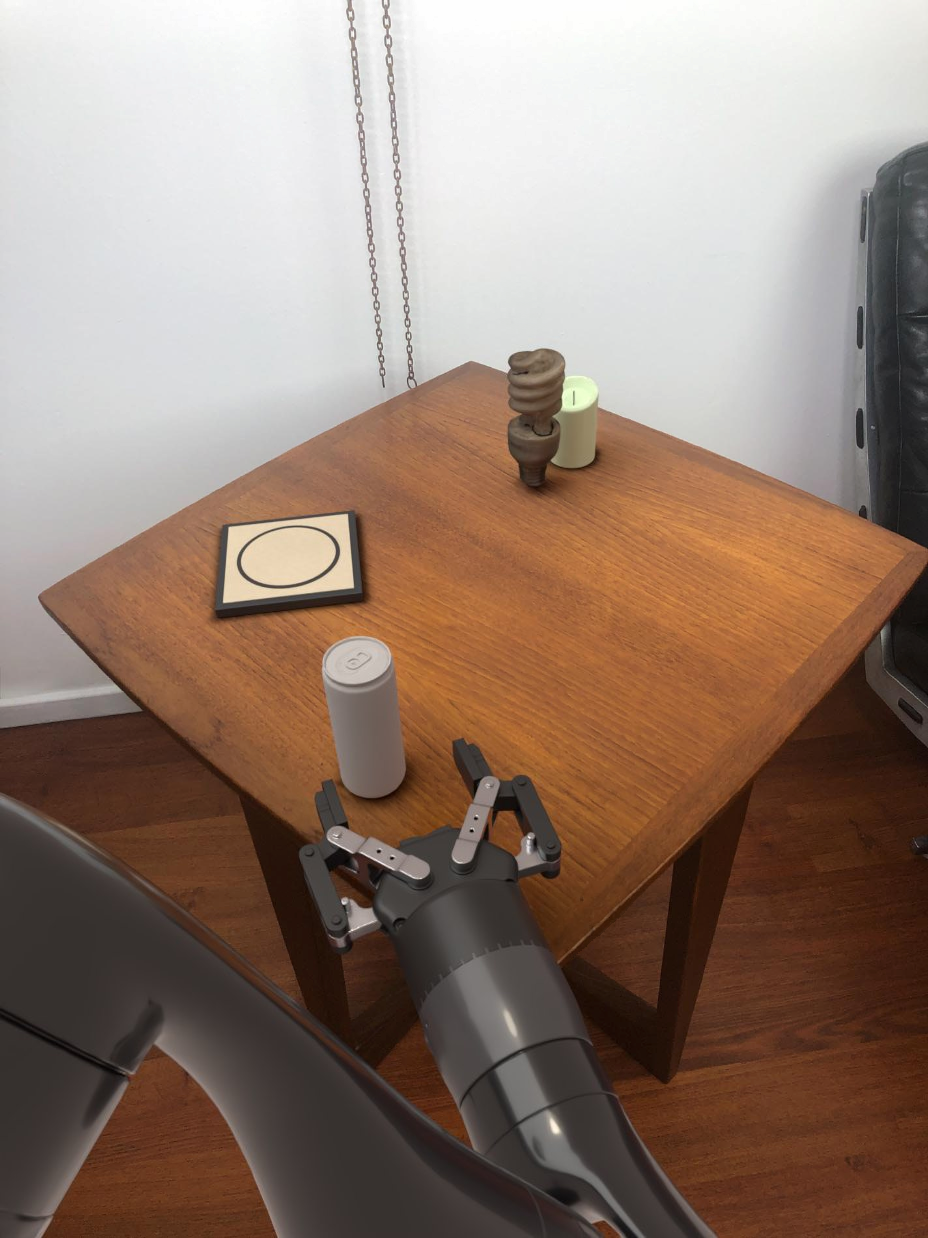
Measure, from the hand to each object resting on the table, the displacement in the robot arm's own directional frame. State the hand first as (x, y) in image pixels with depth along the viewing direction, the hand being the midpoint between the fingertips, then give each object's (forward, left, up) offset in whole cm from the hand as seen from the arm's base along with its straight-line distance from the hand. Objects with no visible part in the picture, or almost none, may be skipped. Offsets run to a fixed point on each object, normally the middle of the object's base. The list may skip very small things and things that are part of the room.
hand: (393, 767), depth 60 cm
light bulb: (+17, +42, -9) cm, 46 cm away
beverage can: (-2, +7, -9) cm, 11 cm away
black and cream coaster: (-8, +34, -9) cm, 36 cm away
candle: (+22, +47, -9) cm, 53 cm away
